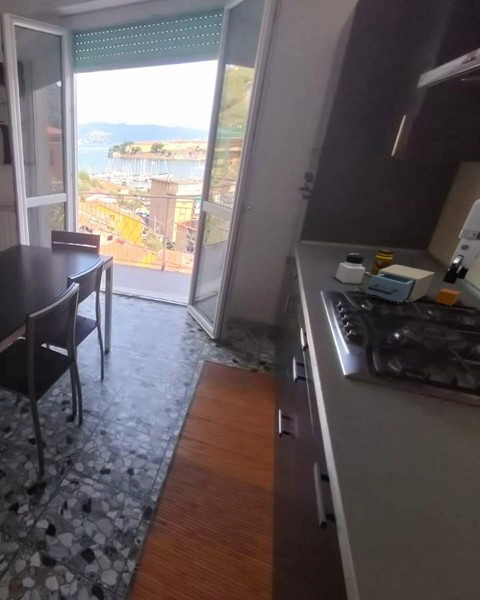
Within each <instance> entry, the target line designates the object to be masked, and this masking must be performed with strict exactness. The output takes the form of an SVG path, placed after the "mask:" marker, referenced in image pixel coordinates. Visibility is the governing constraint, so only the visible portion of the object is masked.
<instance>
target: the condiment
mask: <svg viewBox="0 0 480 600" xmlns="http://www.w3.org/2000/svg"><path fill="white" fill-rule="evenodd" d="M394 252H395V251H394V250H391V249H386V248H383V249H379V250H378V252H377V255H375V258H374V260H373V264H372V266H371V270H370V271H365V273H364V274H367V275H368V276H370V277H371V276H372V275H375V276H377V275H378V273H379V270H381V269H384V268H387V267H389V266H392V262H393V259H394V258H393V256H394Z"/></svg>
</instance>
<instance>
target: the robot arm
mask: <svg viewBox="0 0 480 600" xmlns="http://www.w3.org/2000/svg"><path fill="white" fill-rule="evenodd" d="M458 239H460V241H459V243H458V245H457V247H456V248H455V251H454V253H453V255H452V257H451V260H450V262H449V265H450V266H449V267H448V269H447V271H446V272H445V275H444V277H443V279H442V282H443V283H446V284H447V283H448V284H451V285H454V284H456V282H457V279H459V280H465V278H466V276H467V274H468V272H469V269H470V268H472V267H474V266H475V265H476V264H477V262H478V259H479V257H480V198H479V199H476V200H475V201H474V203H473V204H472V206H471V208H470V210H469V212H468V215H467V217H466V219H465V222H464V224H463V226H462V228H461V230H460V232H459V235H458Z"/></svg>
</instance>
